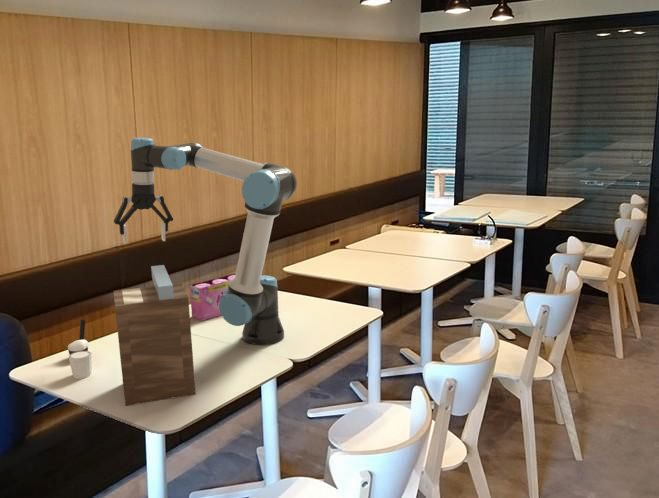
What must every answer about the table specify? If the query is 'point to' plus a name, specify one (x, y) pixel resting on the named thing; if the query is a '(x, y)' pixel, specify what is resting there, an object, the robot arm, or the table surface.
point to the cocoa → (79, 341)
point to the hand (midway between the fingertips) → (144, 241)
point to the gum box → (208, 296)
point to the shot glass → (81, 364)
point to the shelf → (154, 344)
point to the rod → (162, 282)
